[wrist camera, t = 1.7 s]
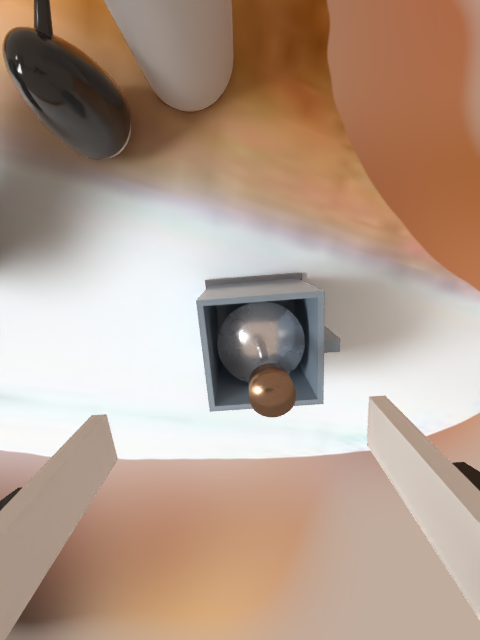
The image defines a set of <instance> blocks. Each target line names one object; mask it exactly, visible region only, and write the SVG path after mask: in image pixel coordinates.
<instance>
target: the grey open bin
mask: <svg viewBox="0 0 480 640" xmlns="http://www.w3.org/2000/svg"><path fill="white" fill-rule="evenodd" d="M205 284H206V290H205V291H204V292H203V294H202V295H201V296H200V297H199V298H198V299H197V300H196V303H197V311H198V319H199V327H200V335H201V343H202V351H203V359H204V367H205V375H206V383H207V391H208V400H209V408H210V411H224V410H239V409H253V407H252V406H251V404H250V400H249V386H248V383H247V382H245V381H242V380H240V379H238V378H236V377H235V376H233V375H232V374H231V373H230V372H229V371H228V370H227V369H226V368H225V366H224V365H223V363H222V361H221V359H220V356H219V353H218V346H217V341H218V335H219V331H220V328H221V326H222V324H223V322H224V320H225V319H226V318H227V316H228V315H229V314H230V313H231V312H232V311H234V310H235V309H236V308H238V307H240V306H241V305H244V304H246V303H250V302H264V301H270V302H274V303H277V304H279V305H281V306H283V307H285V308H286V309H288V310H289V311H290V312H291V313H292V314H293V315H294V316H295V317H296V318H297V320H298V321H299V323H300V324H301V326H302V329H303V332H304V336H305V348H304V353H303V356H302V358H301V360H300V362H299V364H298V365H297V367H296V368H295V369H294V370H293V371H292V372H291V373H290V374H289V375H290V378H291V380H292V383H293V385H294V388H295V390H296V401H295V404H294V406H299V405H314V404H323V385H324V353H325V352H339V351H340V339H339V338H338V337H337V336H336V335H335V334H333V333H332V332H331V331H330V330H329V329H328V328H327V327H325V326H324V290H322V289H320V288H317V287H315V286H313V285H311V284H309V283H306V282H304V281H302V273H289V274H276V275H263V276H250V277H238V278H225V279H212V280H205Z"/></svg>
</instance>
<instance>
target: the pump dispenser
mask: <svg viewBox="0 0 480 640" xmlns="http://www.w3.org/2000/svg"><path fill="white" fill-rule="evenodd" d="M2 52H3V58H4V62H5V66H6V68H7V71H8V73H9V76H10V78H11V80H12V82H13V84H14V85H15V87H16V89H17V90H18V92H19V93H20V95H21V97H22V98H23V99H24V101H25V102H26V104H27V105H28V106H29V108H30V109H31V110H32V112H33V113H34V114H35V115H36V117H37V118H38V119H39V120H40V121H41V122H42V124H43V125H44V126H45V127H46V128H47V129H48V130H49V131H50V132H51V133H52V134H53V135H54V136H55V137H57V138H58V139H59V140H60V141H61V142H62V143H63V144H65V145H66V146H67V147H68V148H70V149H71V150H73V151H74V152H76V153H78V154H79V155H81V156H84V157H86V158H90V159H97V160H99V159H106V158H111V157H114V156H116V155H118V154H119V153H120V152H122V151H123V149H124V148H125V147H126V145H127V143H128V141H129V138H130V134H131V117H130V110H129V106H128V103H127V100H126V98H125V96H124V94H123V92H122V91H121V89H120V88H119V86H118V85H117V84H116V82H115V81H114V80H113V79H112V78H111V77H110V75H109V74H108V73H107V72H106V71H105V70H104V69H103V68H101V67H100V66H99V65H98V64H97V63H96V62H95V61H94V60H93V59H92V58H90V57H89V56H88V55H87V54H85V53H84V52H83V51H81V50H80V49H79V48H77V47H76V46H74V45H72V44H71V43H69V42H68V41H66V40H64V39H62V38H60V37H58V36H56V35H54V34H53V29H52V20H51V10H50V1H49V0H34V28H32V27H16V28H13V29H11V30H10V31H9V32H8V33H7V34H6V36H5V38H4V41H3V46H2Z"/></svg>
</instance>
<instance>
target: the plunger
mask: <svg viewBox="0 0 480 640" xmlns="http://www.w3.org/2000/svg"><path fill="white" fill-rule="evenodd" d="M217 346H218V353H219V356H220V359H221V361H222V363H223V365H224V366H225V368H226V369H227V370H228V371H229V372H230V373H231V374H232V375H233V376H235V377H236V378H238V379H240V380H242V381H245V382H247V383H248V386H249V400H250V404H251V406H252V407H253V409H254V410H255V411H256V412H257V413H259V414H261V415H263V416H266V417H278V416H281V415H284V414H285V413H287V412H288V411H289V410H290V409H291V408H292V407H293V406H294V404H295V401H296V390H295V388H294V385H293V383H292V380H291V378H290V375H289V374H290V373H291V372H292V371H293V370H294V369H295V368H296V367H297V365H298V364H299V362H300V360H301V358H302V356H303V353H304V348H305V336H304V332H303V329H302V326H301V324H300V323H299V321H298V320H297V318H296V317H295V316H294V315H293V314H292V313H291V312H290V311H289V310H288V309H286V308H285V307H283V306H281V305H279V304H277V303H274V302H270V301H264V302H250V303H246V304H244V305H241V306H240V307H238V308H236V309H235V310H234V311H232V312H231V313H230V314H229V315H228V316H227V318H226V319H225V320H224V322H223V324H222V326H221V328H220V331H219V335H218V341H217Z"/></svg>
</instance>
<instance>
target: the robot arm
mask: <svg viewBox="0 0 480 640" xmlns="http://www.w3.org/2000/svg"><path fill="white" fill-rule="evenodd" d="M367 445H368V447H369V448H370V450H371V452H372V453H373V455H374V456H375V458H376V459H377V461H378V462H379V464H380V466H381V467H382V469H383V470H384V472H385V473H386V475H387V476H388V478H389V480H390V481H391V482H392V484H393V486H394V487H395V489H396V490H397V492H398V494H399V495H400V497H401V498H402V500H403V501H404V503H405V504H406V506H407V508H408V509H409V511H410V512H411V514H412V515H413V517H414V518H415V520H416V522H417V523H418V525H419V526H420V528H421V529H422V531H423V532H424V534H425V536H426V537H427V539H428V540H429V542H430V543H431V545H432V547H433V548H434V550H435V551H436V553H437V554H438V556H439V557H440V559H441V560H442V562H443V563H444V565H445V567H446V568H447V570H448V571H449V573H450V574H451V576H452V578H453V579H454V581H455V582H456V584H457V585H458V587H459V589H460V590H461V592H462V593H463V594H464V596H465V598H466V600H467V601H468V602H469V604H470V606H471V607H472V609H473V610H474V612H475V614H476V615H477V617H478V618H479V620H480V472H479V471H478V470H476V469H474V468H473V467H471V466H469V465H468V464H466V463H465V462H457V463H451V462H450V461H449V460H448V459H447V458H446V457H445V456H444V455H443V454H442V452H440V450H439V449H438V448H436V446H435V445H434V444H433V443H431V441H430V440H428V439H427V437H426V436H425V435H424V434H423V433H422V432H421V431H420V430H419V429H418V428H417V427H416V426H415V425H414V424H413V423H412V422H411V421H410V420H409V419H408V418H407V417H406V416H405V415H404V414H403V413H402V412H401V411H400V410H399V409H398V408H397V407H396V406H395V405H394V404H393V403H392V402H391V401H390V400H389V399H388V398H387V397H386V396H374V397H369V411H368V435H367ZM117 460H118V459H117V455H116V451H115V447H114V443H113V439H112V435H111V431H110V427H109V423H108V419H107V415H92V416H91V417H90V418H89V419H88V420H87V421H86V422H85V423H84V424H83V425H82V426H81V427H80V428H79V429H78V430H77V431H76V432H75V433H74V435H73V436H72V437H71V438H70V439H69V440H68V441H67V442H66V443H65V444H64V445H63V446H62V447H61V448H60V449H59V450H58V451H57V452H56V453H55V454H54V455H53V456H52V457H51V459H50V460H49V461H48V462H47V463H46V464H45V465H44V466H43V467H42V468H41V469H40V470H39V471H38V472H37V473H36V474H35V475H34V476H33V478H31V479H30V480H29V481H28V483H27V484H26V485H25V486H24V487H21V488H17V489H16V490H15V491H13V492H12V493H11V494H9V495H8V496H6V497H5V498H4V499H2V500H1V501H0V640H5V639H6V637H7V636H8V634H9V633H10V631H11V629H12V628H13V626H14V625H15V623H16V621H17V620H18V618H19V617H20V615H21V613H22V612H23V610H24V609H25V607H26V605H27V604H28V602H29V601H30V599H31V597H32V596H33V594H34V593H35V591H36V589H37V588H38V586H39V585H40V583H41V581H42V580H43V578H44V577H45V575H46V573H47V572H48V570H49V569H50V566H51V565H52V563H53V562H54V561H55V559H56V557H57V556H58V554H59V553H60V551H61V549H62V548H63V546H64V545H65V543H66V541H67V540H68V538H69V537H70V535H71V533H72V532H73V530H74V529H75V527H76V525H77V524H78V522H79V520H80V519H81V517H82V516H83V514H84V513H85V511H86V509H87V508H88V506H89V505H90V503H91V501H92V500H93V498H94V496H95V495H96V493H97V492H98V490H99V489H100V487H101V485H102V484H103V482H104V481H105V479H106V477H107V476H108V474H109V472H110V471H111V469H112V468H113V466H114V465H115V463H116V461H117Z"/></svg>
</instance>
